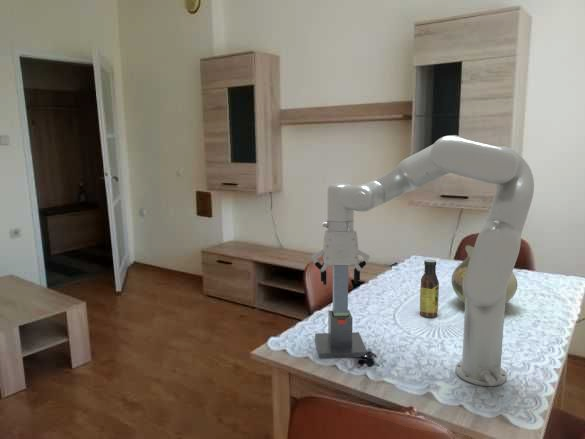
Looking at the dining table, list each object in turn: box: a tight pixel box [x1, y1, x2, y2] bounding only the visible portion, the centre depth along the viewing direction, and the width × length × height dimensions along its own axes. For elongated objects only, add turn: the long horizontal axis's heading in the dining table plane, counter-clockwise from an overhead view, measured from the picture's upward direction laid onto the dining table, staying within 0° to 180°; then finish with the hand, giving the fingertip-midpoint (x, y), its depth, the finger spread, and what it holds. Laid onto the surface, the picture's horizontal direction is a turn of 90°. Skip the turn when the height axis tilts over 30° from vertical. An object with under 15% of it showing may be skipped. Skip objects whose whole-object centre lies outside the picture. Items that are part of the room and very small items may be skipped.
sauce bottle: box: [419, 259, 440, 318], centre depth 165 cm, size 6×6×20 cm
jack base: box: [314, 309, 368, 359], centre depth 141 cm, size 14×14×10 cm
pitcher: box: [451, 243, 518, 307], centre depth 172 cm, size 22×24×25 cm
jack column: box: [331, 266, 349, 317], centre depth 139 cm, size 4×4×22 cm
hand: (340, 283), depth 139 cm, fingers open, 9 cm apart
